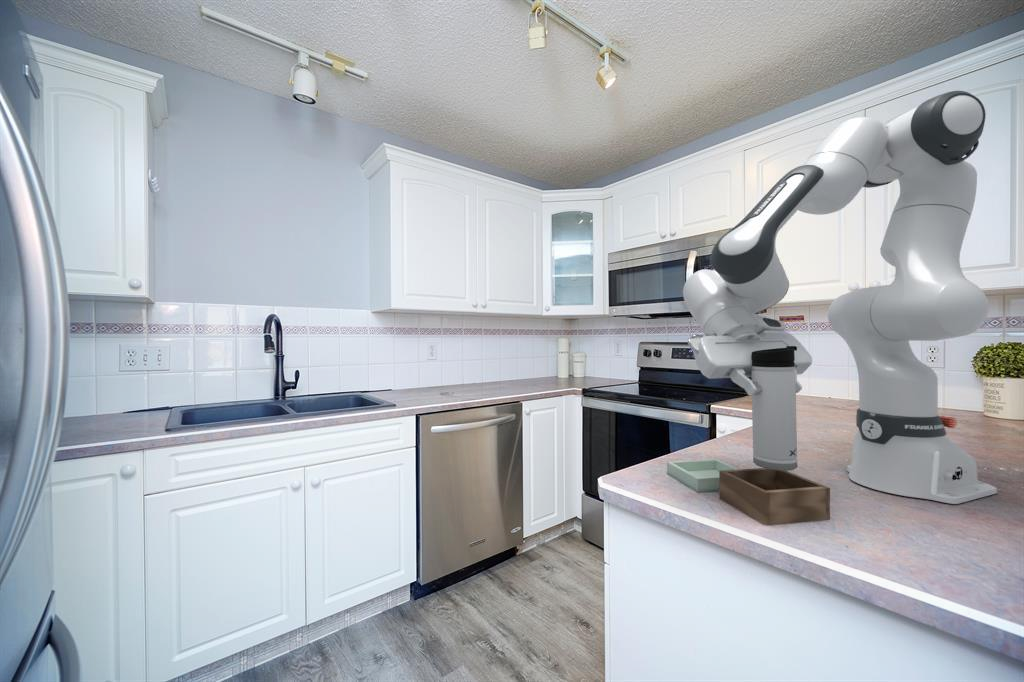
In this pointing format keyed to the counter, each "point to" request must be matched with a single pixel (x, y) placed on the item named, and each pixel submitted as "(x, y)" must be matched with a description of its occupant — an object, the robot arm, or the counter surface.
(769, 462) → the travel mug
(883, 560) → the counter surface
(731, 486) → the square wooden frame
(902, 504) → the counter surface
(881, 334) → the robot arm
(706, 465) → the dock
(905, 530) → the counter surface
